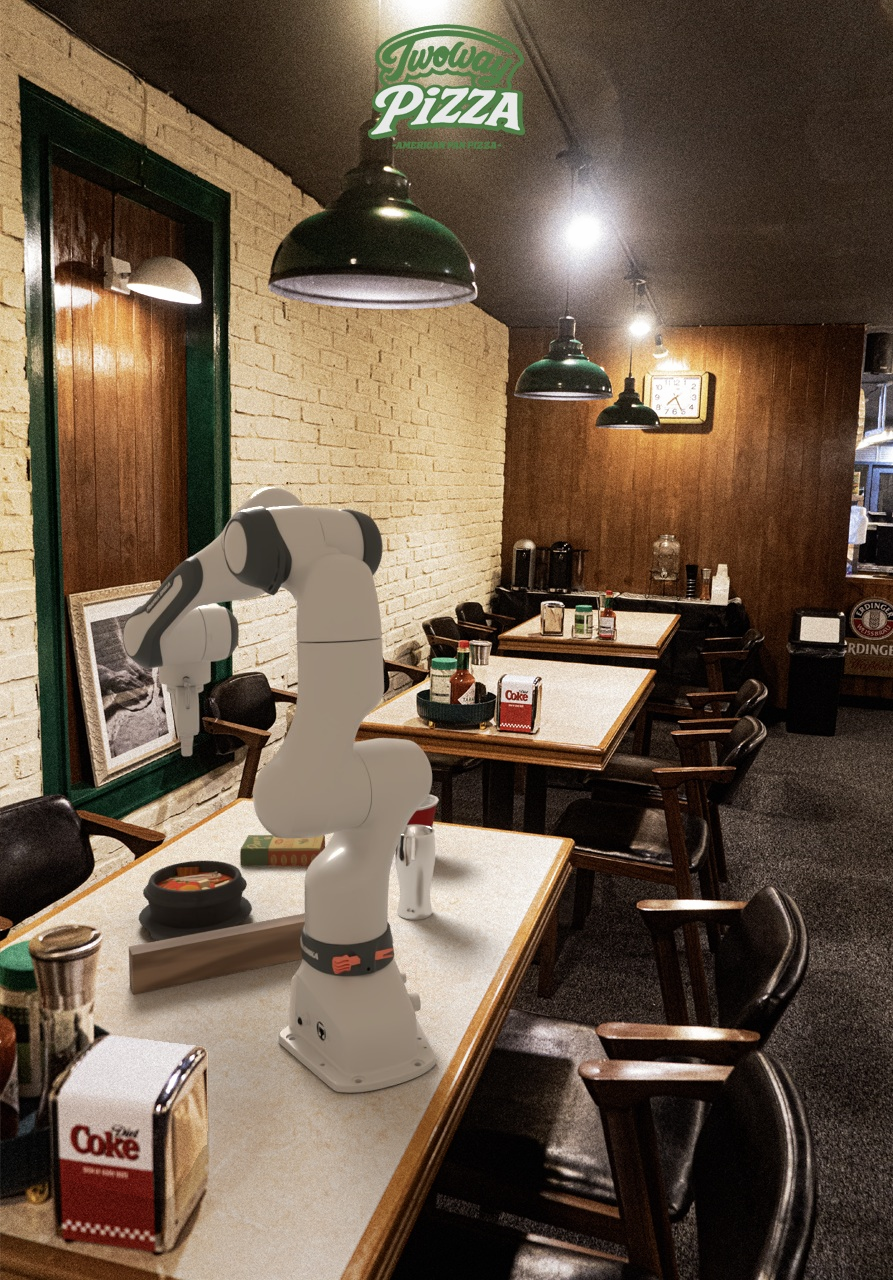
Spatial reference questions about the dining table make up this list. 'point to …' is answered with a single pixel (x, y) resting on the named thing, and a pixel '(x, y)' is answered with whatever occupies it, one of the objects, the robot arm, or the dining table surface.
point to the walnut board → (214, 953)
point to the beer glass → (415, 871)
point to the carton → (280, 850)
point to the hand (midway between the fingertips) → (185, 748)
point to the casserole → (194, 899)
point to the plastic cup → (425, 812)
